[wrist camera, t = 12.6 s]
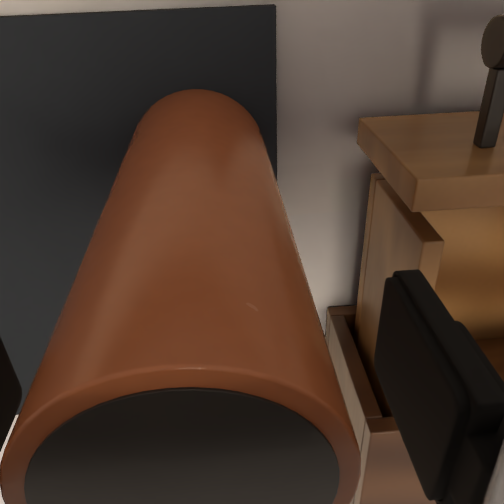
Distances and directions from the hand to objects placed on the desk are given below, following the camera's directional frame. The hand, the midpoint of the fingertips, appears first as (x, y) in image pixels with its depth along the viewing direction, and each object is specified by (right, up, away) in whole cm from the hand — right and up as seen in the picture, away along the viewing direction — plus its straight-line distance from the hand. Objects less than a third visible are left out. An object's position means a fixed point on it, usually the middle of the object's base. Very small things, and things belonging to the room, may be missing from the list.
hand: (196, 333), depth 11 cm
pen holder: (-1, +6, +10) cm, 12 cm away
